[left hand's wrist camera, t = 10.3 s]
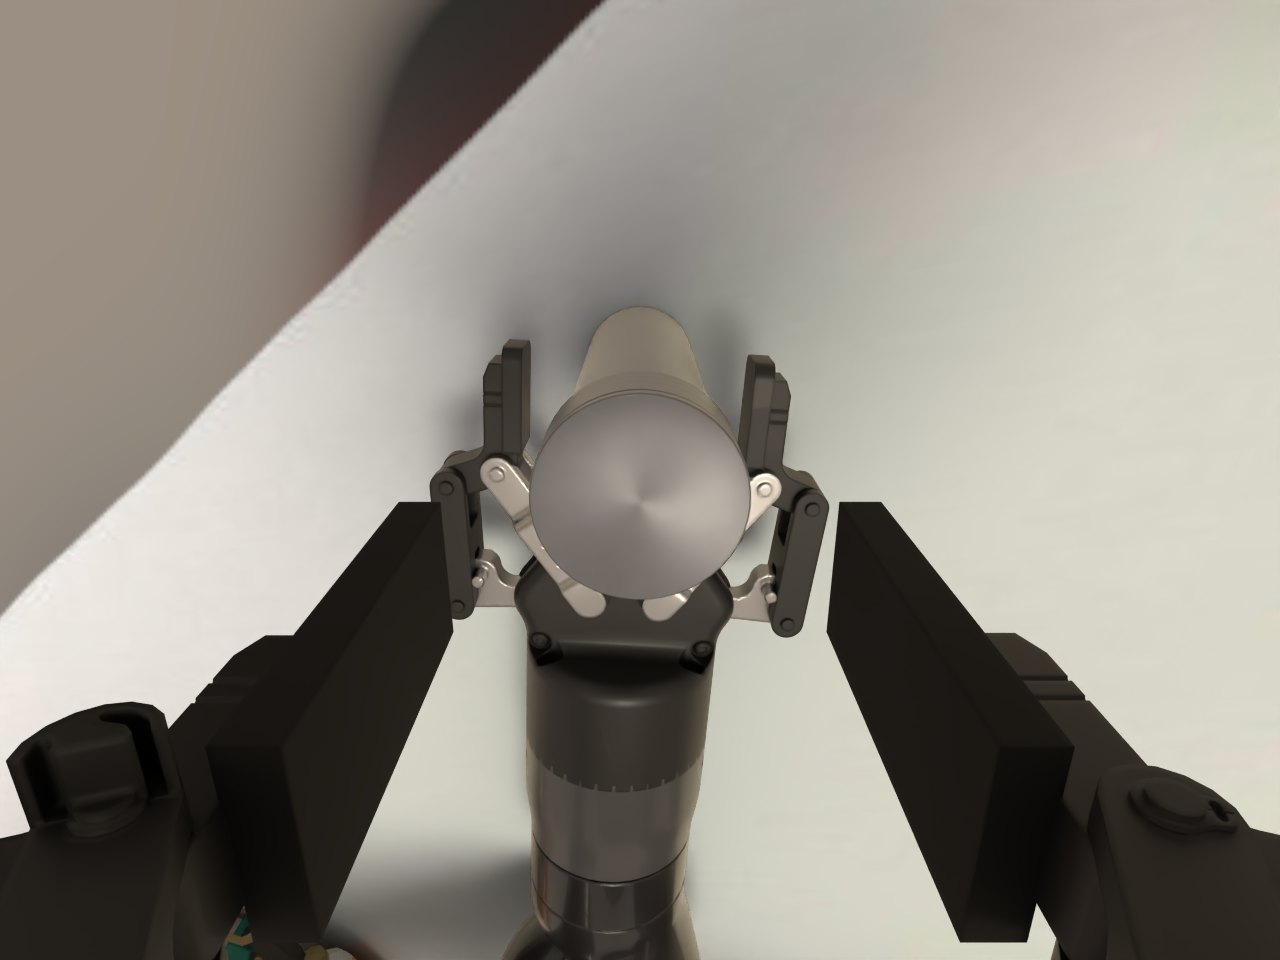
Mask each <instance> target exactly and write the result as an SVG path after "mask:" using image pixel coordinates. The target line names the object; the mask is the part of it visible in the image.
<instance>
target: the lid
mask: <svg viewBox="0 0 1280 960" xmlns="http://www.w3.org/2000/svg"><path fill="white" fill-rule="evenodd" d="M750 508H751V485H750V478H749V474H748V470H747V466H746V463H745V461H744V458H743V456H742V453H741V451H740V448H739V446H738V443H737V441H736V438H735V436H734V433H733V431H732V428H731V426H730V424H729V422H728V420H727V419H726V417H725V415H724V414H723V412H722V411H721V410H720V409H719V407H718V406H717V405H716V403H715V402H713V401H712V400H711V399H710V398H709V397H708V396H707V395H706V394H705V393H704V392H702V391H701V390H699V389H698V388H697V387H695V386H693V385H692V384H690V383H688V382H686V381H684V380H682V379H679V378H677V377H674V376H672V375H668V374H664V373H660V372H652V371H627V372H621V373H616V374H612V375H609V376H605V377H603V378H601V379H598V380H596V381H594V382H592V383H590V384H588V385H587V386H585V387H583V388H582V389H580V390H579V391H578V392H577V393H575V394H574V395H573V396H572V397H570V398H569V399H568V401H567V402H566V403H565V404H564V405H563V406H562V407H561V408H560V410H559V411H558V412H557V414H556V415H555V417H554V418H553V420H552V422H551V424H550V426H549V428H548V430H547V433H546V435H545V438H544V440H543V443H542V445H541V448H540V450H539V453H538V456H537V458H536V461H535V464H534V466H533V469H532V473H531V478H530V483H529V509H530V514H531V519H532V524H533V526H534V529H535V532H536V534H537V537H538V539H539V540H540V542H541V544H542V546H543V548H544V549H545V551H546V552H547V554H548V555H549V556H550V558H551V559H552V560H553V561H554V562H555V563H556V564H557V566H558V567H559V568H560V569H561V570H563V571H564V572H565V573H566V574H567V575H569V576H570V577H571V578H572V579H574V580H576V581H577V582H579V583H580V584H582V585H584V586H586V587H588V588H590V589H592V590H594V591H596V592H599V593H602V594H605V595H608V596H613V597H617V598H622V599H632V600H649V599H657V598H663V597H667V596H671V595H675V594H678V593H681V592H683V591H686V590H688V589H690V588H692V587H694V586H696V585H698V584H700V583H702V582H703V581H704V580H706V579H707V578H709V577H710V576H712V575H713V574H714V573H715V572H716V571H717V570H718V569H720V568H721V567H722V566H723V565H724V563H725V562H726V561H727V560H728V559H729V558H730V556H731V555H732V554H733V552H734V551H735V549H736V548H737V546H738V545H739V543H740V540H741V538H742V536H743V534H744V532H745V529H746V526H747V523H748V520H749V514H750Z"/></svg>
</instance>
